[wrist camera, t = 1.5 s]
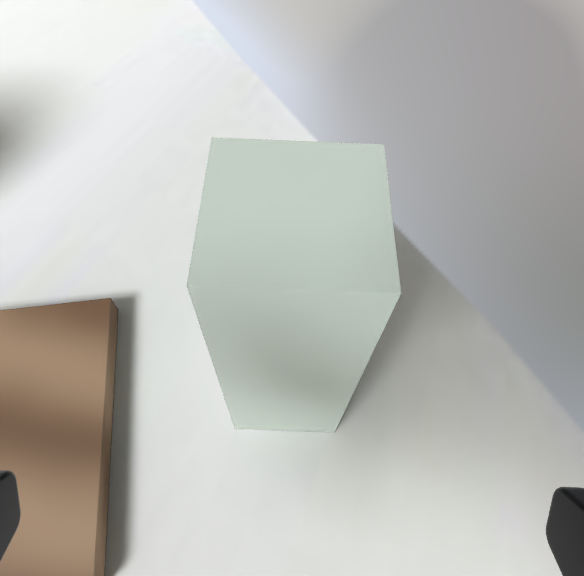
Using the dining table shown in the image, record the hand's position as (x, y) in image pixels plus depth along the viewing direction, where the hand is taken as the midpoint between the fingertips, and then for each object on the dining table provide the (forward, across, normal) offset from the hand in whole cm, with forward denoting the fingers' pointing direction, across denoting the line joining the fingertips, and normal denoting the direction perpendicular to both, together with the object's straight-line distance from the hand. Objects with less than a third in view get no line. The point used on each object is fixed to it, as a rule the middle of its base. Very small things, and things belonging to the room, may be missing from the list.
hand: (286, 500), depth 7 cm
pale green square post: (+13, 0, +4) cm, 14 cm away
